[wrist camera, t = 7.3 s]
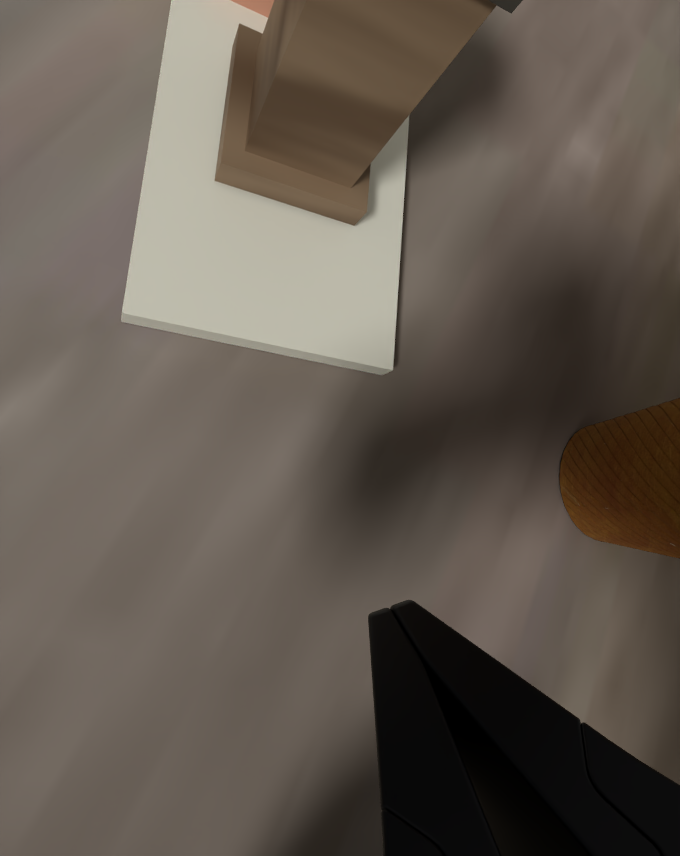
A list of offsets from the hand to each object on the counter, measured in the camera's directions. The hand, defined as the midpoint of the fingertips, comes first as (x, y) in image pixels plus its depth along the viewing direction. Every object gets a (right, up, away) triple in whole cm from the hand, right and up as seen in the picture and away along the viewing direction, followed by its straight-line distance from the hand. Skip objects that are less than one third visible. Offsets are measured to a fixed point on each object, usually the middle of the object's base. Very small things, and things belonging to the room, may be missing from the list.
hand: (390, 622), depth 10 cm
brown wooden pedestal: (-3, +16, +13) cm, 20 cm away
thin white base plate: (-3, +14, +14) cm, 20 cm away
